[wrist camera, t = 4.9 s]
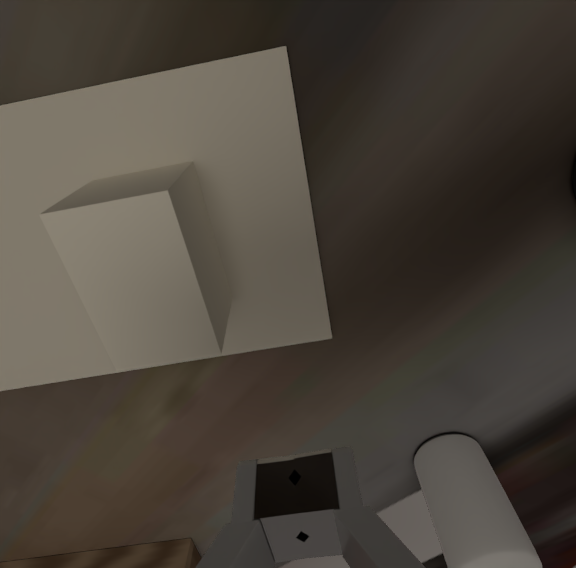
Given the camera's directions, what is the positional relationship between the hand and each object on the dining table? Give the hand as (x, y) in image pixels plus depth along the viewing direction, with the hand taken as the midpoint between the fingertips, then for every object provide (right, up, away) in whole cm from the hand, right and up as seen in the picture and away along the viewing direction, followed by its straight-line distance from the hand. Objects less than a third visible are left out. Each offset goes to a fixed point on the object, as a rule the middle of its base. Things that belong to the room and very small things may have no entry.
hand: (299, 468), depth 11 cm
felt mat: (-12, +7, +18) cm, 23 cm away
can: (+15, -11, +29) cm, 34 cm away
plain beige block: (-8, +8, +17) cm, 20 cm away
